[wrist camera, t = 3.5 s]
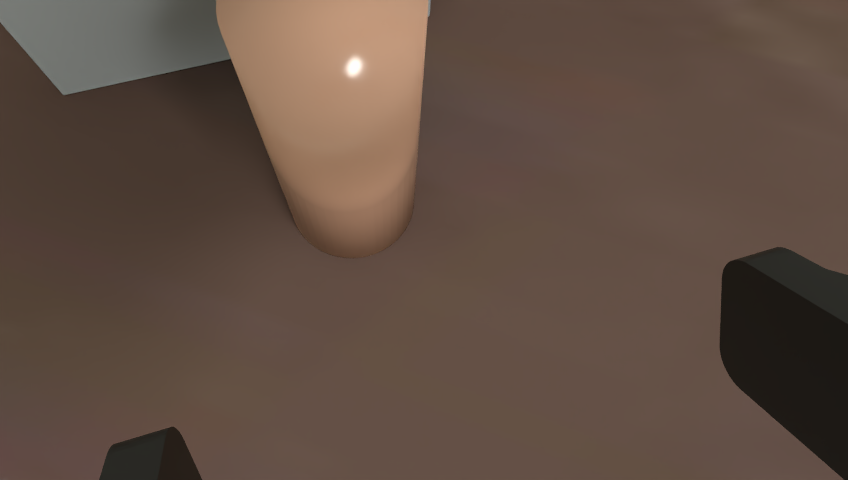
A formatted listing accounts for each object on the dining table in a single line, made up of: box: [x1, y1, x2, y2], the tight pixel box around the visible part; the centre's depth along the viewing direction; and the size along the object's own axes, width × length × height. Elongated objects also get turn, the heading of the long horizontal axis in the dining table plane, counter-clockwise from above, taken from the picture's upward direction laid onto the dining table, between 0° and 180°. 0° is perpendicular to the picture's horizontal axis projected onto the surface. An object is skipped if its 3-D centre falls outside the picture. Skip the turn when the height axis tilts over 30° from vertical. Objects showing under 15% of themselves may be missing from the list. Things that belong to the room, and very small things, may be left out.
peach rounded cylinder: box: [216, 0, 428, 258], centre depth 21 cm, size 5×5×12 cm
